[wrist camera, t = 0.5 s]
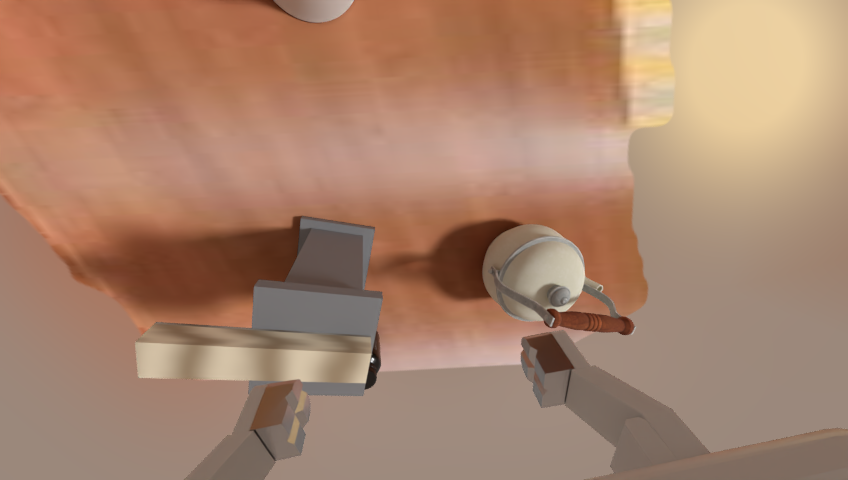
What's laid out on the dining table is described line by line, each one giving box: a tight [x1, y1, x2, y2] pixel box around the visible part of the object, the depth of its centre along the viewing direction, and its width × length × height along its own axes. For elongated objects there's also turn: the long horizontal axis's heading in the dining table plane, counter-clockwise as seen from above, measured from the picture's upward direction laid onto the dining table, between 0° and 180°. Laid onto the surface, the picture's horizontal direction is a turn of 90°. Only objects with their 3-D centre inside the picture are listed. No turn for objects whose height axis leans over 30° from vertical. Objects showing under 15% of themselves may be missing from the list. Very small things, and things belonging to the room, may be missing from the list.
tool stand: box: [248, 216, 383, 396], centre depth 46 cm, size 13×14×26 cm
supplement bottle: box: [364, 331, 381, 390], centre depth 60 cm, size 7×7×12 cm
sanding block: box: [135, 322, 371, 383], centre depth 31 cm, size 21×4×3 cm, turn 77°
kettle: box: [482, 224, 636, 335], centre depth 54 cm, size 25×18×25 cm
